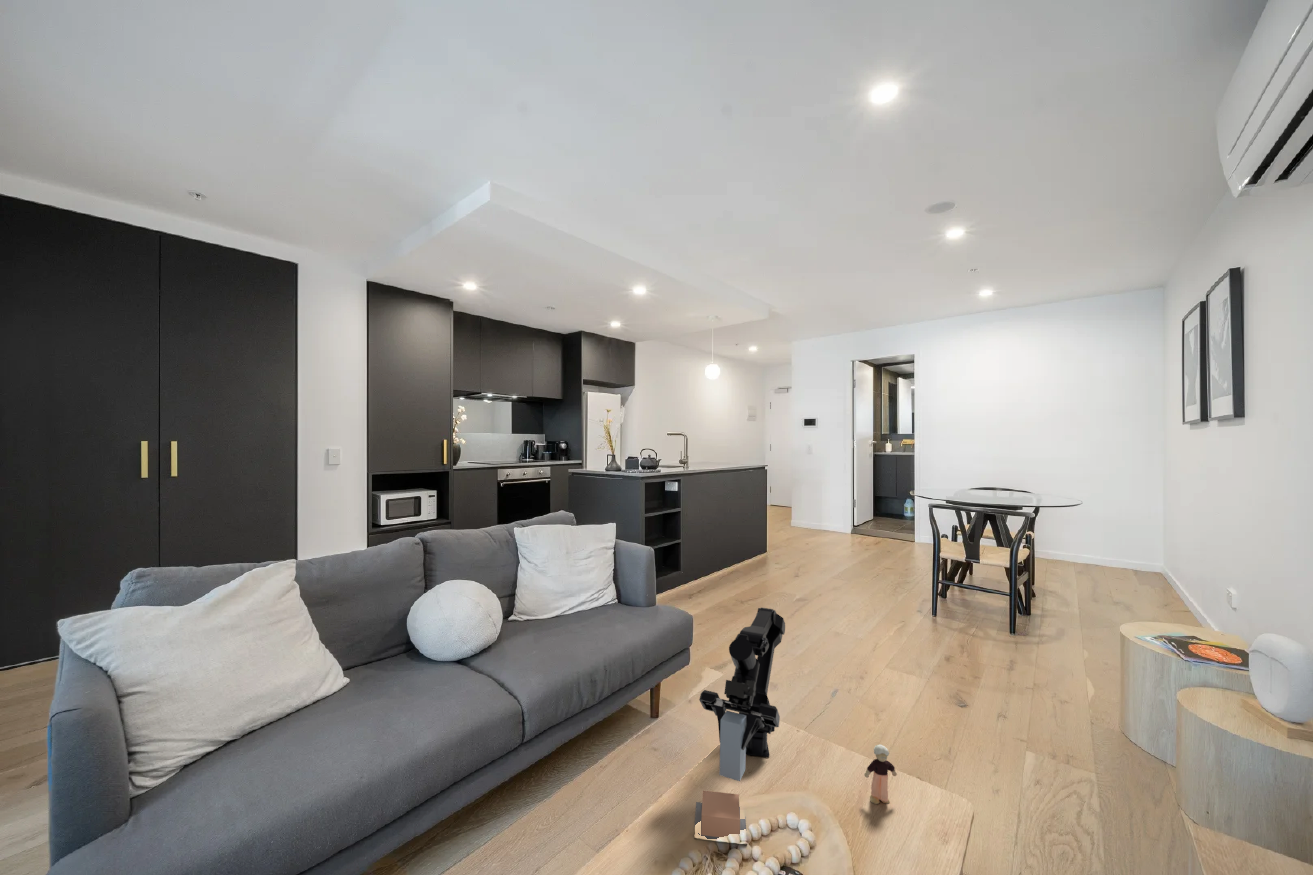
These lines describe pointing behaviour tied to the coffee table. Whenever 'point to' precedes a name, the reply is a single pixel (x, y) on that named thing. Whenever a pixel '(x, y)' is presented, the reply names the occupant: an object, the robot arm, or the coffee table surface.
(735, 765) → the slate column brick
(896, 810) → the coffee table surface
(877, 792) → the grandmother figurine
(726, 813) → the tower base
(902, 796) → the coffee table surface
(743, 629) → the robot arm
